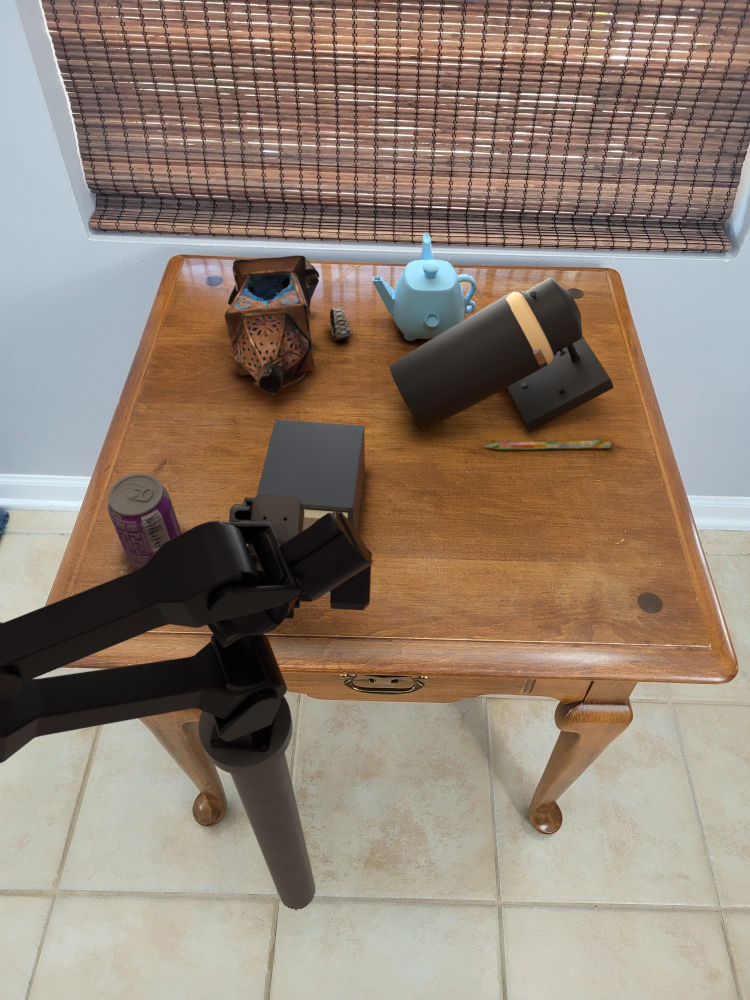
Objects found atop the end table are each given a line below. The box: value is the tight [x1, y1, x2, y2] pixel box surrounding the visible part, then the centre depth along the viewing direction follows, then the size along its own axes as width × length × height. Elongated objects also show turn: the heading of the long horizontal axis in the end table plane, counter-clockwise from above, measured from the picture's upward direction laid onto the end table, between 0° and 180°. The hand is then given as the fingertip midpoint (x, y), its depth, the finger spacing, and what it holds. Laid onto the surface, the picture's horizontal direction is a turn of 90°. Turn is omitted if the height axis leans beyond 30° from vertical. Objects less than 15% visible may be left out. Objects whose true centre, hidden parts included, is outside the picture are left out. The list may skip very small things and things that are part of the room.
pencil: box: [483, 439, 612, 451], centre depth 109 cm, size 1×1×18 cm
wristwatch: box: [329, 306, 353, 342], centre depth 123 cm, size 3×5×5 cm
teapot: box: [372, 232, 477, 342], centre depth 122 cm, size 15×14×11 cm
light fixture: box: [388, 277, 615, 433], centre depth 108 cm, size 13×18×26 cm
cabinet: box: [255, 418, 366, 532], centre depth 98 cm, size 14×12×10 cm
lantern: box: [223, 255, 320, 396], centre depth 116 cm, size 16×16×25 cm
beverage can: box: [107, 472, 183, 570], centre depth 93 cm, size 7×7×12 cm
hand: (292, 559), depth 87 cm, fingers closed
